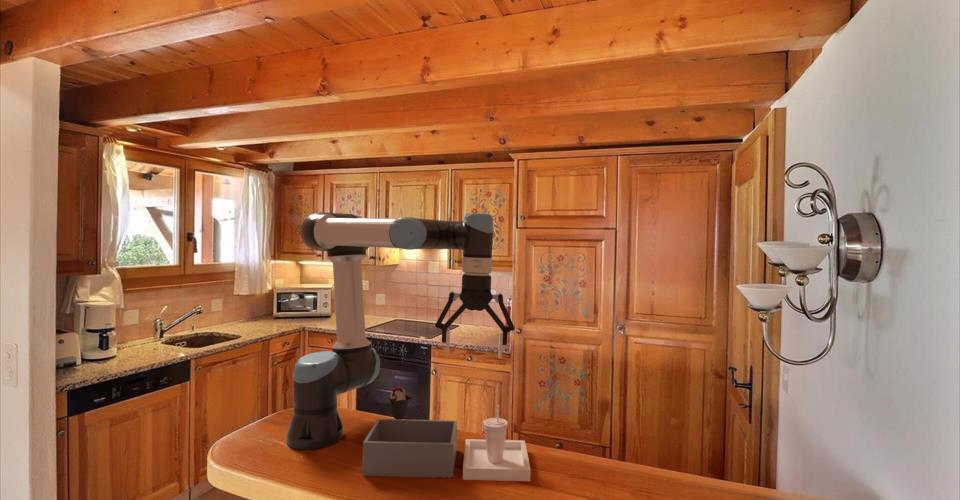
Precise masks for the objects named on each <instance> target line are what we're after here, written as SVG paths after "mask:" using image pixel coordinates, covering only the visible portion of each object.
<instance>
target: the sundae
mask: <svg viewBox="0 0 960 500" xmlns="http://www.w3.org/2000/svg"><path fill="white" fill-rule="evenodd" d="M391 384H393V385H394V387H393V388H392V391H391V393H390V395H389V396H388V397H387V400H389V402H390V408H391V414H392V415H391V416H392V417H393V419H404V418H405V417H406V416H407V411H408V403H409V401H410V400H412V397H411V395H410V392H411V390H409V391H408V392H407V393H406V389H404V388H402V387H400V386H398V385H397V384H396V383H395V381H391Z"/></svg>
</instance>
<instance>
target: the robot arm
mask: <svg viewBox="0 0 960 500" xmlns="http://www.w3.org/2000/svg"><path fill="white" fill-rule="evenodd" d="M299 227H300V229H299V234H300V238H301V241H302V242H303V244H304V245H305V246H306V247H308V248H310V249H311V250H314V251H318V252H326V254H327V255H326V257H327V259H328V260H329V261H330V262H331V263H332V272H333V273H332V274H333V287H334V288H333V291H334V292H333V293H334V309H335V310H334V311H335V326H336V327H335V329H336V330H335V331H336V342H335V343H334V344H333V345H332V350H331V351H330V350H323V351H317V352H311V353H307V354H305V355H303V356H302V357H300V358H299V359H298V360H297V361H296V362H295V364H294V370H293V376H292V377H293V414H292V417H291V419H290V423H289V425H288V428H287V431H286V444H287V445H288V446H289V448H290V447H291V448H294V449H297V450H315V449H323V448H326V447H329V446H331V445H334V444H336V443H339V442H340V441H341V440H342V439H343V437H344V425H343V422H342V419H341V416H340V413H339V410H338V396H339V395H342V394H345V393H348V392H351V391H353V390H357V389H360V388H361V389H362V388H364V387H365V386H367V385H369V384H371V383H372V382H374V381H375V379H376V378H377V377H378V375H379V373H380V368H381V359H380V356H379V354H378V353H377V350H376V349H375V348H374V347H372V342H371V341H370V340H369V339H368V338H367V337H366V336H367V335H366V323H365V322H366V318H365V302H364V301H365V300H364V288H363V287H364V285H363V273H362V272H363V268H362V261H363V260H364V259H365V258H366V256H367V252H366V251H367V250H368V249H370V248H384V249H385V248H388V249H401V250H402V249H403V250H409V251H410V250H457V251H458V250H459V251H462V269H461V270H462V272H463V273H464V274H462V275H461V291H460V293H459V292H455V291H453V290H452V291H450V292H449V294H448V301H447V302H446V304H445V306H444V307H443V310H442V311H441V313H440V315H439V317H438V319H437V320H436V322H435V324H434V327H435V328H436V329H439V330H441V343H442V344H443V343H444V344H445V354H444V355H445V356H444V357H446V358H447V357H448V358H449V355H450V345H451V344H450V343H451V340H450V337H451V329H450V327H451V325H452V324H453V323H454V322H455V321H456V320H457V318H459V316H460V315H461V314H463V312H465V310H468V311H478V312H482V311H483V310H485V311H486V313H488V314H489V316H490V317H491V318H492V320H493V321H494V322H495V323H496V325H497V326H498V328H500V330H501V331H500V330H499V332H498V333H499V334H498V335H499V337H498V338H499V339H498V359H501V360H502V358H503V346H507V344H508V333H510V332H511V331H512V332H513V331H514V330H515V325H514V323H513V321H512V319H511V317H510V314H509V312H508V310H507V308H506V306H505V303H504V296H503V293H501V292H499V293H497V294H495V293H492V276H491V275H490V274H492V270H493V243H494V242H493V241H494V239H493V238H494V232H495V231H494V217H493V216H492V215H491V214H489V213H480V212H479V213H476V212H475V213H473V212H472V213H471V212H470V213H465V215H464V218H463V220H461V221H457V220H455V221H454V220H441V219H440V220H439V219H425V218H417V217H410V216H408V217H407V216H405V217H386V218H385V217H363V216H361V215H356V214H353V213H341V212H340V213H336V212H326V211H319V212H314V213H311V214H308V216H306V217H305V218H304V219H303V221H302V222H301V224H300V226H299ZM458 298H459V300H460V301H461V302H462V304H461V305H460V306H459V307H458V308H457V309H456V311H455V312H453V314H452V315H451V316H450V317H449V318H448V319H447V320H446V321H445V323H443V321H444V319H445V317H446V315H447V313H448V312H449V310H450V308H451V307H452V304H453V302H456V301H457V299H458ZM492 300H494V301H495V303H497V304H498V305H499V307H500V311H501V313H502V314H503V318H504V319H505V321H506V324H507V325H505V324H504V322H503V321H502V320H501V319H500V317H499V315H497V313H496V312H495V311H494V310H493V309H492V307H491V305H490V303H491V302H492Z"/></svg>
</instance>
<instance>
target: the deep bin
mask: <svg viewBox="0 0 960 500" xmlns="http://www.w3.org/2000/svg"><path fill="white" fill-rule="evenodd" d="M457 445H458V420H447V419H446V420H445V419H437V420H436V419H407V418H406V419H404V418H403V419H395V418H377V419H376V421H375V422H374V424H373V426H372V428H370V431H369V432H368V433H367V435H366V437H365V439H364V440H363V442H362V477H363V476H364V477H398V478H399V477H402V478H403V477H404V478H436V477H443V479H444V478H445V477H448V478H447V479H452V478H451V477H453V478H454V472H455V465H456V460H457V459H456V457H457V451H458V448H457V447H458V446H457ZM445 479H446V478H445Z"/></svg>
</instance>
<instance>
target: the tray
mask: <svg viewBox="0 0 960 500" xmlns="http://www.w3.org/2000/svg"><path fill="white" fill-rule="evenodd" d="M462 480H464V481H473V480H474V481H499V482H500V481H501V482H502V481H506V482H508V481H509V482H510V481H511V482H531V464H530V460H529V455H528V450H527V445H526V441H525V439H524V440H522V439H521V440H519V439H517V440H515V439H512V440H511V439H505V444H504V452H503V459H502V462H500V463H496V464H495V463H490V462H489V461H488V457H487V448H486V439H476V438H475V439H473V438H471V439H470V438H468V439H467V438H466V439H465V446H464V454H463V465H462Z"/></svg>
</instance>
